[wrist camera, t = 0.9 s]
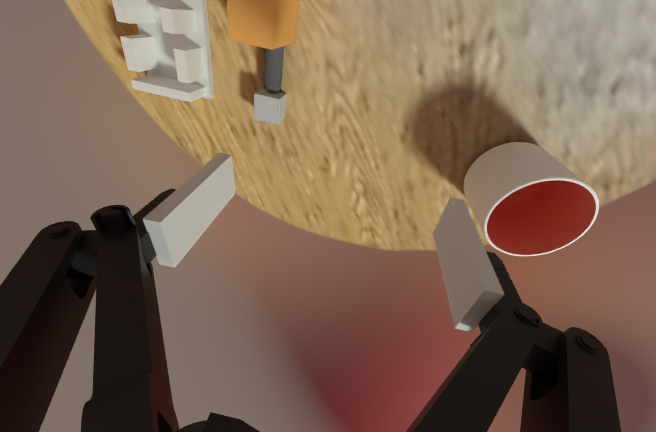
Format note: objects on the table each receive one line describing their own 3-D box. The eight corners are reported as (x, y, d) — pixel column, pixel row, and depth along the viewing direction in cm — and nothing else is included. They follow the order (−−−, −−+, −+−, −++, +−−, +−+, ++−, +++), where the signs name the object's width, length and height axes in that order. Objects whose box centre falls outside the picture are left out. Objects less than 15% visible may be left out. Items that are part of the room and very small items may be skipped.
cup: (445, 174, 37) (463, 218, 29) (521, 120, 32) (569, 155, 24) (487, 219, 40) (515, 269, 32) (563, 176, 35) (618, 224, 27)
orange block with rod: (263, -105, 24) (221, -149, 18) (306, -95, 24) (280, -136, 18) (258, 111, 36) (232, 132, 29) (288, 118, 36) (268, 140, 29)
